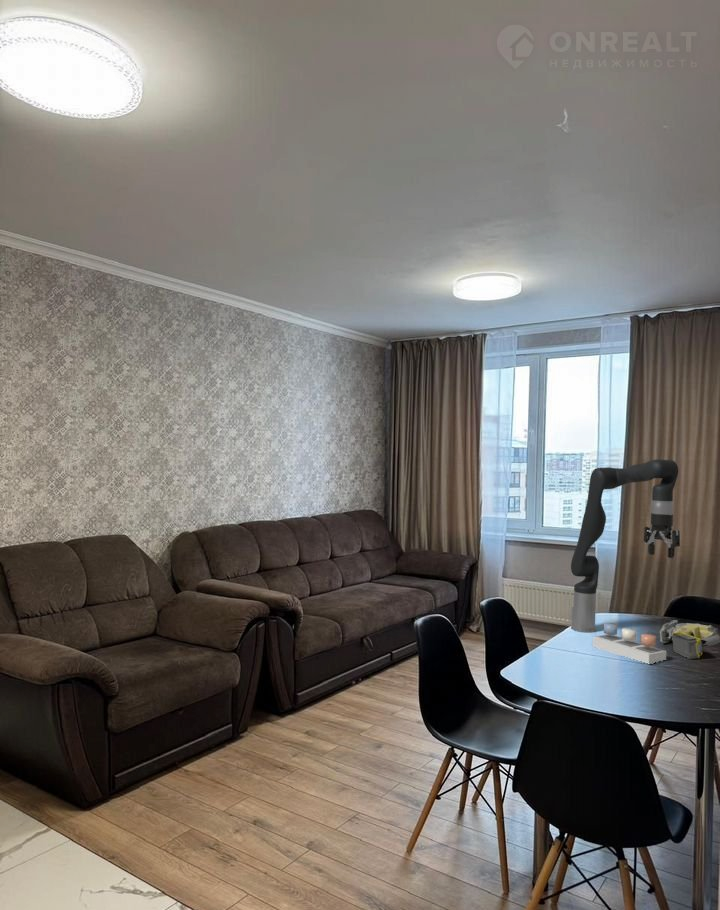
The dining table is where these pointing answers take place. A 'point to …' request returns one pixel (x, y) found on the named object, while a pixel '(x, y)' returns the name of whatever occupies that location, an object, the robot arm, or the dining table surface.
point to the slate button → (610, 628)
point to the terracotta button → (648, 640)
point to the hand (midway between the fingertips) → (660, 556)
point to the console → (629, 648)
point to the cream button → (628, 634)
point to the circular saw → (689, 637)
